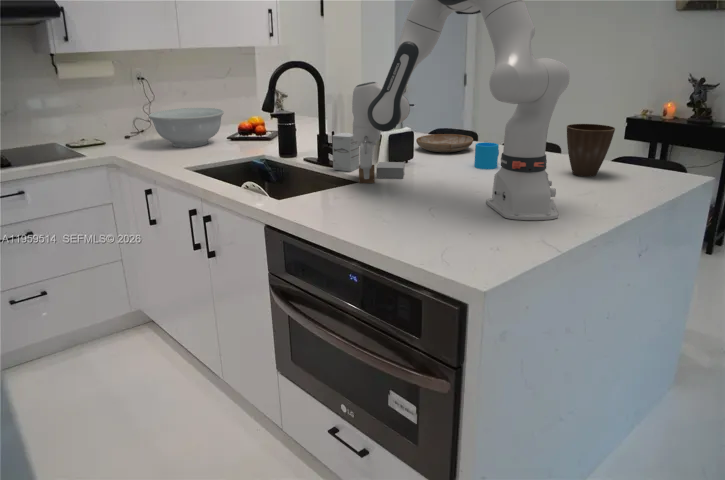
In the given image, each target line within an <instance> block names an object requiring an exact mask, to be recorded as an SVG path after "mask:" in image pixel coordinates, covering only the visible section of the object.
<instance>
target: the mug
mask: <svg viewBox="0 0 725 480" xmlns="http://www.w3.org/2000/svg"><path fill="white" fill-rule="evenodd" d="M499 148H500V147H499V144H498V143H496V142H485V141H484V142H477V143H475V147H474V151H475V152H474V161H473V162H474V163H473V164H474V168H476V169H479V170H493V169H497V168H498V160H499V155H500V150H499Z"/></svg>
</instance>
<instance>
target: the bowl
mask: <svg viewBox="0 0 725 480" xmlns="http://www.w3.org/2000/svg"><path fill="white" fill-rule="evenodd" d="M224 113H225V112H224V110H223V109H221V108H215V107H214V108H213V107H212V108H211V107H190V108H189V107H187V108H175V109H167V110H165V109H164V110H161V111H155V112H152V113H150V114H148V118H149V119H150V120H151V121H152V123H153V125H154V129H155V131H156V133H157V134H158V135H159V136H160V137H161V138H162V139H164V140H166V141H169V142H171V143H172V146H173V147H176V148H184V149H185V148H195V147H196V148H197V147H202V146H205V145H207V144H208V143H209V141H208V140H209V139H212V138H213V137H215V136H216V135H217V134H218V133H219V130H220V127H221V124H222V123H221V121H222V117H223V115H224Z"/></svg>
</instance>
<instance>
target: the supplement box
mask: <svg viewBox="0 0 725 480" xmlns="http://www.w3.org/2000/svg"><path fill="white" fill-rule="evenodd" d="M359 165H360V146H358V145H357V141H354V140H353V132H352V133H351V132H350V133H349V132H338V133H336V134H333V135H332V170H333V171H342V172H347V173H350V172H354V171H355V170H359Z"/></svg>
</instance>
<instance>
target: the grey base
mask: <svg viewBox="0 0 725 480" xmlns="http://www.w3.org/2000/svg"><path fill="white" fill-rule="evenodd" d="M405 164H406V163H405V161H403V162H402V161H398V162H396V161H379V162H378V163H377V166H376V171H375V172H376V173H375V174H376V179H387V180H388V179H392V180H393V179H396V180H398V179H399V180H401V179H402V180H403V179H404V177H405V169H406V168H405Z"/></svg>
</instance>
